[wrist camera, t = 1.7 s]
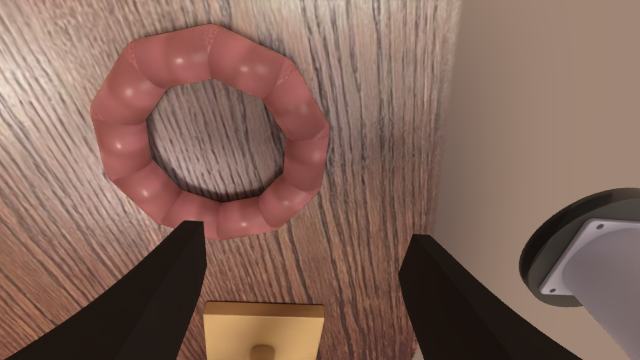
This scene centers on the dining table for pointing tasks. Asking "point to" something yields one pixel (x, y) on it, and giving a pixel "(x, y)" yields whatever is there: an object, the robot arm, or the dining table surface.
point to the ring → (193, 66)
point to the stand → (262, 331)
